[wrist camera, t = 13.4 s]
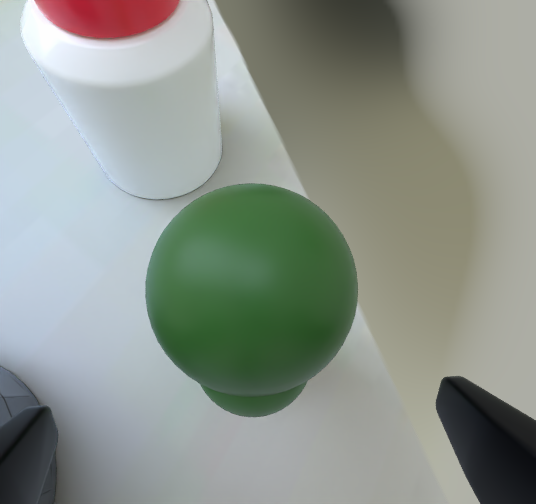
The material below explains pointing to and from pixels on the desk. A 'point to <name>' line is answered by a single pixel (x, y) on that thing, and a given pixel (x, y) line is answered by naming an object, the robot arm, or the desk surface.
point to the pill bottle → (134, 86)
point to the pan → (11, 403)
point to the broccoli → (251, 295)
